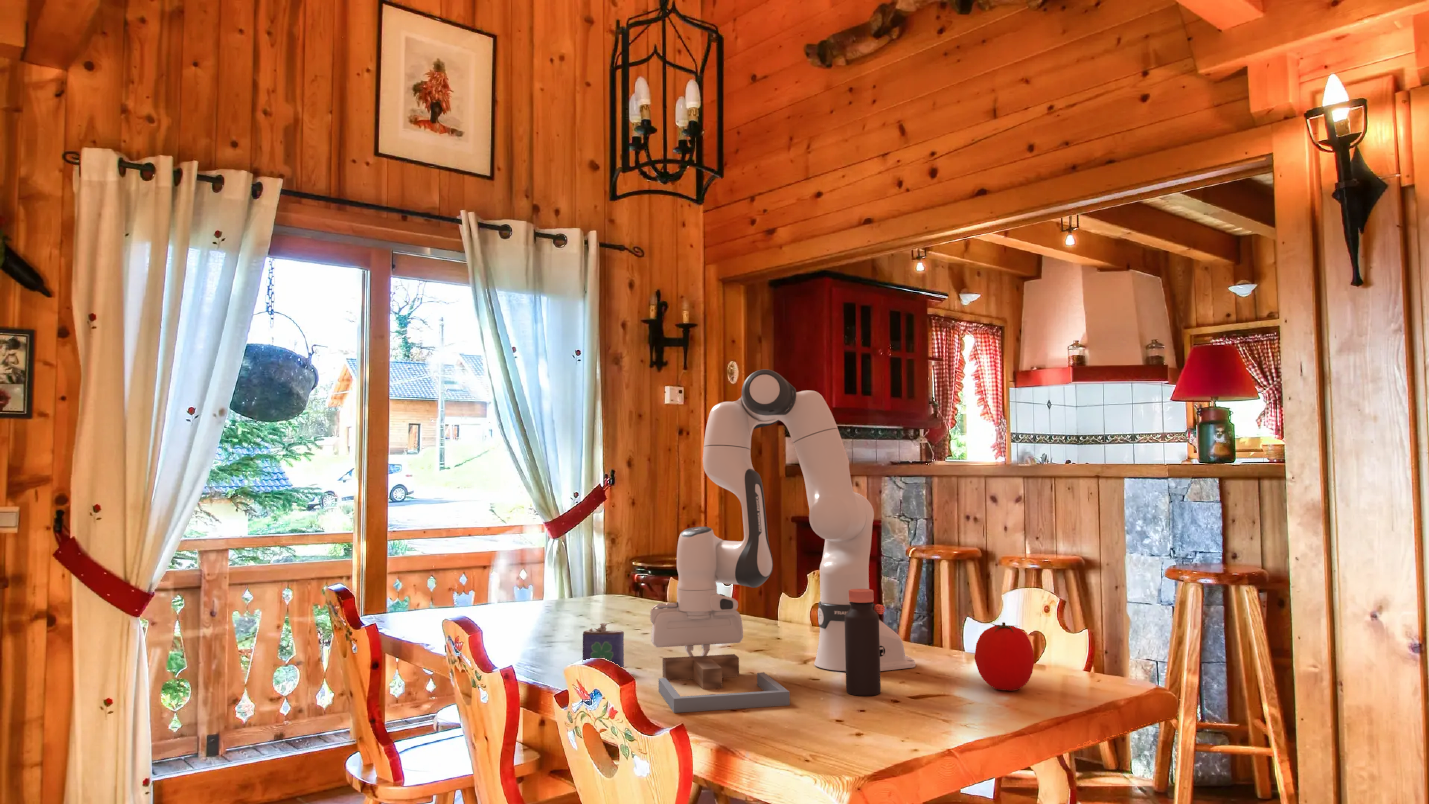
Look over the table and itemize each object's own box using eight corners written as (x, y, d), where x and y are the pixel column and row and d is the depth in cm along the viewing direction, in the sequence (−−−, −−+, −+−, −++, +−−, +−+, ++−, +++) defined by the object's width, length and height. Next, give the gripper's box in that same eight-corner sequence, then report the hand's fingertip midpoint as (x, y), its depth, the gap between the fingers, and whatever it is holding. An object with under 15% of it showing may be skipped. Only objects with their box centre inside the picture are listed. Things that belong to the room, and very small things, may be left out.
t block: (734, 672, 206) (734, 654, 206) (750, 686, 192) (750, 666, 192) (662, 676, 202) (662, 657, 203) (673, 691, 189) (673, 670, 189)
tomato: (1050, 691, 184) (1047, 623, 185) (1006, 699, 178) (1003, 629, 179) (1004, 680, 194) (1002, 616, 195) (961, 688, 188) (959, 621, 189)
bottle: (840, 690, 187) (838, 588, 189) (872, 687, 189) (869, 587, 191) (854, 697, 181) (851, 592, 183) (886, 695, 183) (884, 591, 184)
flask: (624, 670, 209) (624, 621, 210) (622, 673, 206) (622, 624, 207) (583, 670, 210) (583, 622, 210) (581, 673, 207) (580, 624, 207)
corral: (764, 684, 193) (764, 672, 193) (789, 705, 176) (789, 691, 176) (658, 691, 188) (658, 678, 189) (673, 712, 171) (673, 698, 171)
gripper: (653, 605, 201) (653, 671, 200) (744, 601, 206) (745, 665, 205) (647, 601, 207) (648, 665, 206) (737, 598, 212) (738, 660, 211)
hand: (697, 665), depth 205 cm, fingers closed
